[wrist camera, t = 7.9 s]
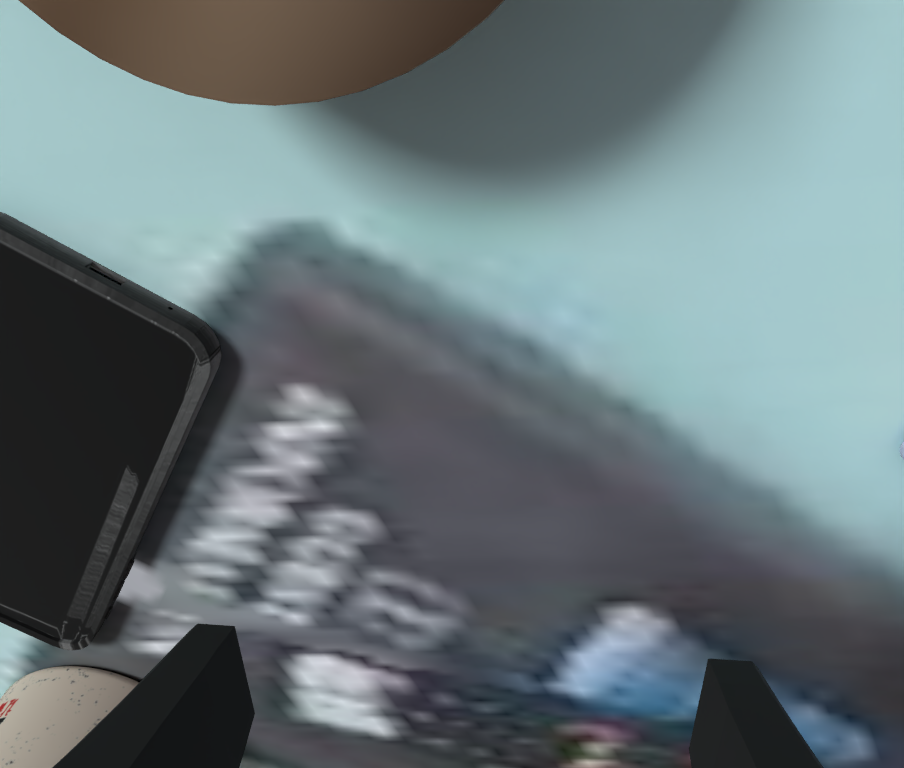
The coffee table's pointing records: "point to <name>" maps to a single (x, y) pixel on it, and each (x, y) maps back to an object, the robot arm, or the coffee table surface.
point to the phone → (84, 428)
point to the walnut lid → (265, 42)
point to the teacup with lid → (55, 712)
